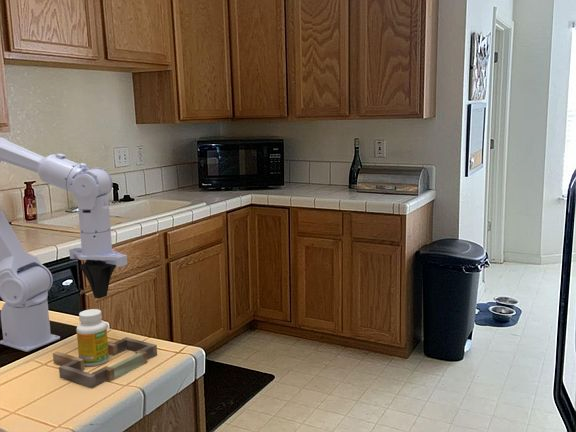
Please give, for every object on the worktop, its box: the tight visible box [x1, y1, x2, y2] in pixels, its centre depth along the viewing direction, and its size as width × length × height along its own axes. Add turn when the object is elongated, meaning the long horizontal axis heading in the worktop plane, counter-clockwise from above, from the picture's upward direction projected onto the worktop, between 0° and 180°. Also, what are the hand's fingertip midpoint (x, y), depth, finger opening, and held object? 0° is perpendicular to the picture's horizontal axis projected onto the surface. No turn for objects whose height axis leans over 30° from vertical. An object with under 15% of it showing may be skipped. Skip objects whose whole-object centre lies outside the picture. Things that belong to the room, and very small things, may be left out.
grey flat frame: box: [52, 336, 158, 389], centre depth 105 cm, size 16×16×2 cm
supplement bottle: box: [76, 308, 110, 367], centre depth 106 cm, size 5×5×10 cm
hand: (100, 296), depth 112 cm, fingers closed
